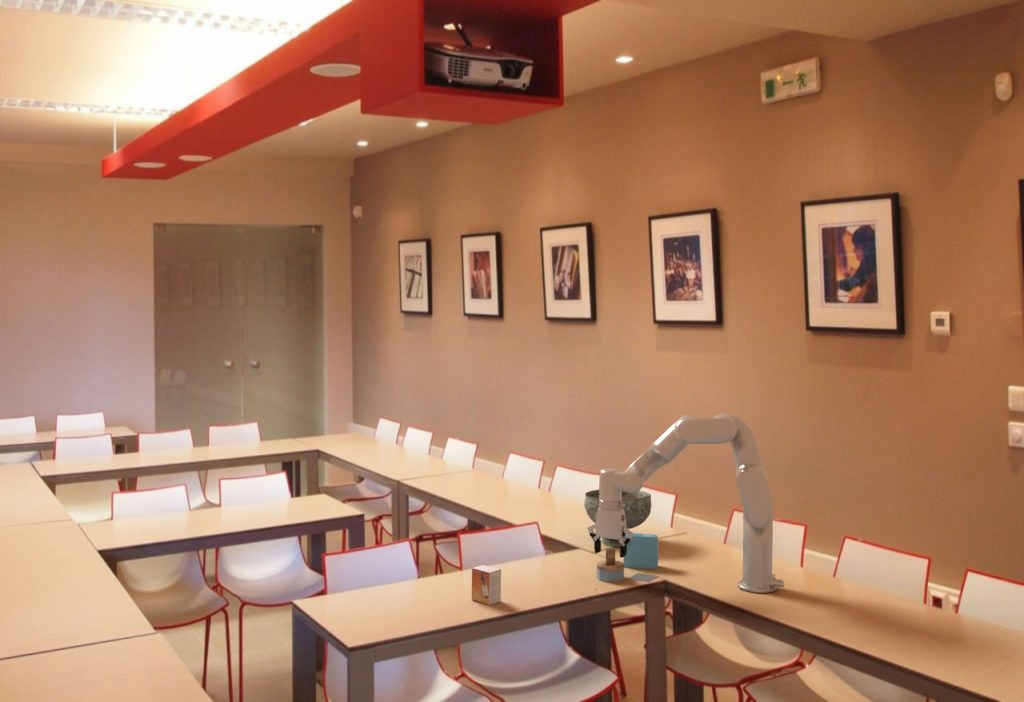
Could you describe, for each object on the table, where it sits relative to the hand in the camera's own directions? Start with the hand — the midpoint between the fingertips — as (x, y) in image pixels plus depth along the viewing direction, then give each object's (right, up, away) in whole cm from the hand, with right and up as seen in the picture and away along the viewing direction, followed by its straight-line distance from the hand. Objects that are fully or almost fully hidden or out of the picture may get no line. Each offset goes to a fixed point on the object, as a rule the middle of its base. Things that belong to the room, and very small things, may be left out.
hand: (610, 554), depth 335 cm
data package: (+12, -8, +15) cm, 21 cm away
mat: (+11, -9, +1) cm, 14 cm away
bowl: (0, -9, +1) cm, 9 cm away
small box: (-42, -10, -22) cm, 48 cm away
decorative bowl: (+8, -6, +51) cm, 52 cm away
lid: (0, -4, 0) cm, 4 cm away
